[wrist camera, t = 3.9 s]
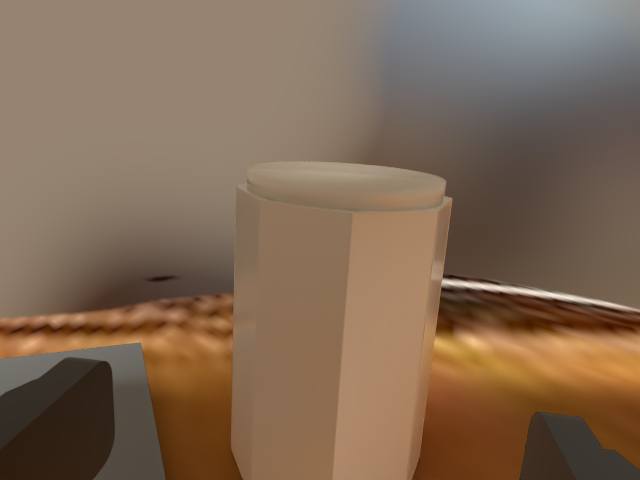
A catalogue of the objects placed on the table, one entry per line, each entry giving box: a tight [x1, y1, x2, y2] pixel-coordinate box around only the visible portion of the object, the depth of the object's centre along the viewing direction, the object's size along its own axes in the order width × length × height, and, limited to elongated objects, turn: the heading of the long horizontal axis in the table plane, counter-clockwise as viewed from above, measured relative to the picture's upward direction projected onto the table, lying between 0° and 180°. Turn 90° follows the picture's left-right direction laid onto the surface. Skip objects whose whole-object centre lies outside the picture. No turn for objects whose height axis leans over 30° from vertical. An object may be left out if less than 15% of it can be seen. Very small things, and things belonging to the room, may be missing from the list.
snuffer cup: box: [231, 162, 452, 480], centre depth 17 cm, size 6×6×10 cm
